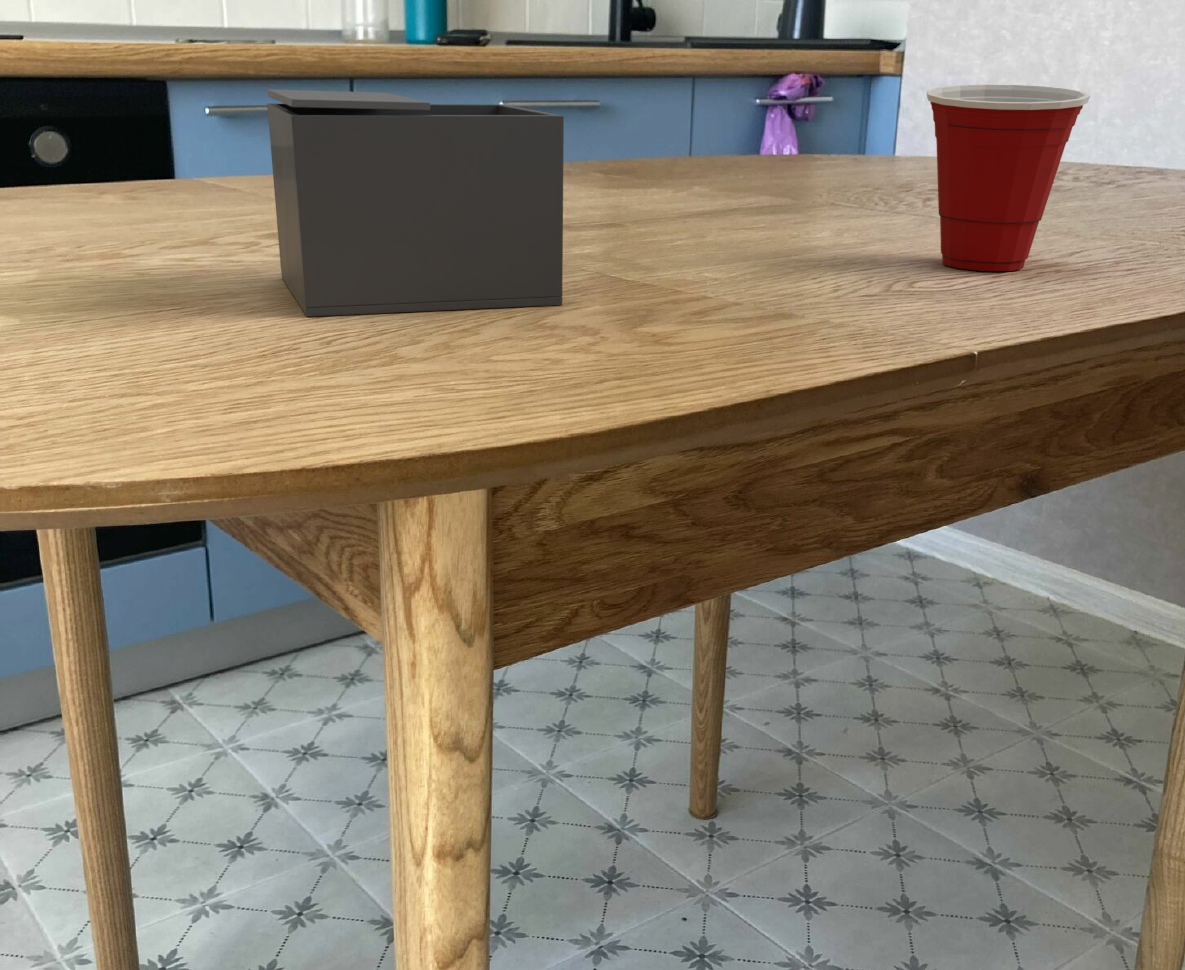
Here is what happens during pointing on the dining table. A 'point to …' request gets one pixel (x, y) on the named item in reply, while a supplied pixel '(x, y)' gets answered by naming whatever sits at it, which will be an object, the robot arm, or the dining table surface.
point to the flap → (347, 100)
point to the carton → (418, 207)
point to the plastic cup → (997, 167)
